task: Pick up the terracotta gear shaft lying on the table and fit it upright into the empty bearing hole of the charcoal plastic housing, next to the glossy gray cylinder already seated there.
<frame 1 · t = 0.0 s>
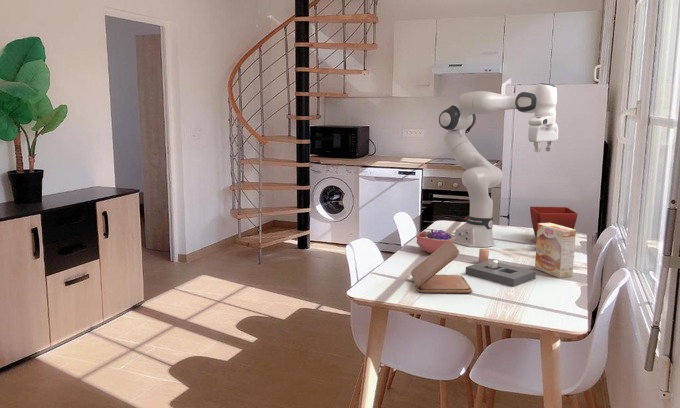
hand: (542, 151, 248), 48 cm above the table, tool pointing down, fingers open, 8 cm apart
terracotta shaft: (483, 263, 243), on the table
case: (440, 286, 211), on the table
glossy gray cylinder: (492, 274, 226), resting in housing
housing: (500, 276, 223), on the table
plant pot: (550, 242, 284), on the table
coffeecake box: (553, 272, 229), on the table
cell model: (434, 252, 261), on the table
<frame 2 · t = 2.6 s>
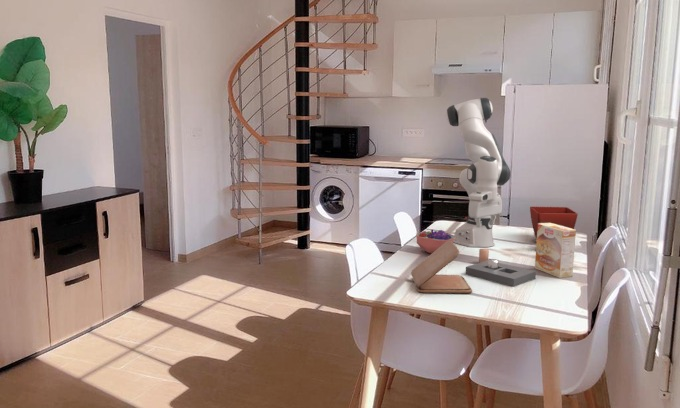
hand: (485, 226, 240), 17 cm above the table, tool pointing down, fingers open, 8 cm apart
nothing on the table moved.
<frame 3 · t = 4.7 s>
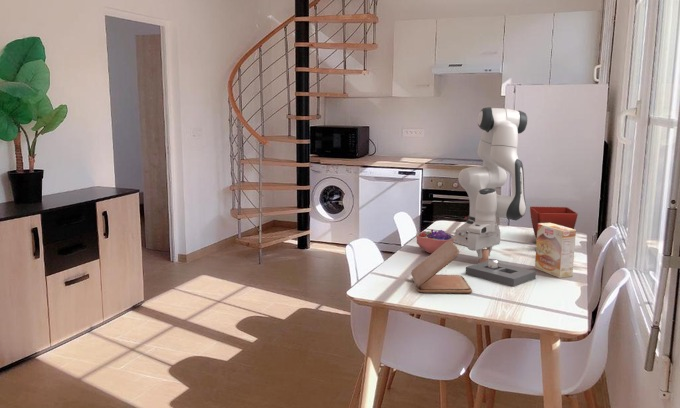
hand: (483, 257, 242), 3 cm above the table, tool pointing down, fingers closed on terracotta shaft, 4 cm apart
terracotta shaft: (483, 263, 243), on the table, touching gripper
everything else where it was.
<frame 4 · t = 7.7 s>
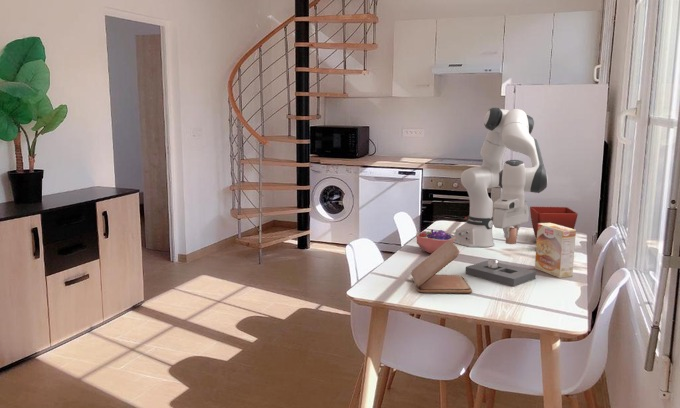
hand: (510, 236, 218), 17 cm above the table, tool pointing down, fingers closed on terracotta shaft, 4 cm apart
terracotta shaft: (510, 243, 219), point 14 cm above the table, touching gripper
everything else where it was.
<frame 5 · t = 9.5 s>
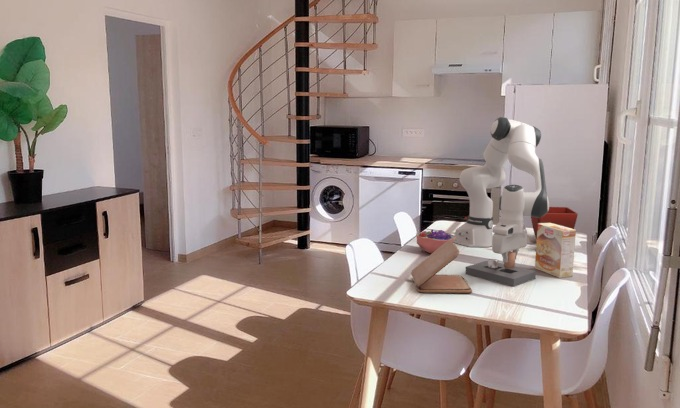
hand: (509, 261, 219), 7 cm above the table, tool pointing down, fingers closed on terracotta shaft, 4 cm apart
terracotta shaft: (509, 267, 220), point 5 cm above the table, touching gripper
everything else where it was.
when the fingers open (4 cm above the table, at t = 10.9 s): terracotta shaft drops 2 cm, resting in housing.
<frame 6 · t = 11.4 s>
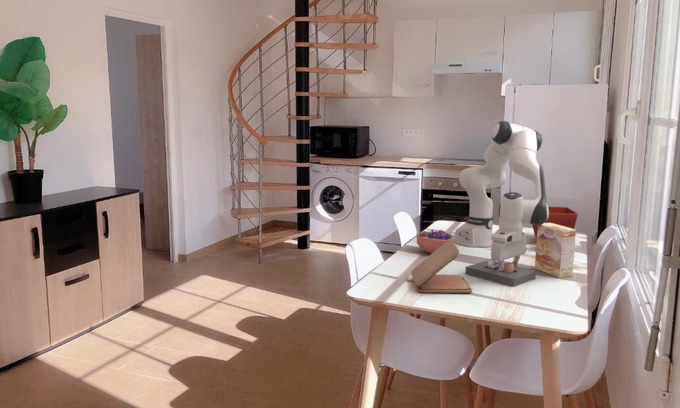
hand: (508, 268, 220), 4 cm above the table, tool pointing down, fingers open, 8 cm apart
terracotta shaft: (507, 278, 221), resting in housing
everything else where it was.
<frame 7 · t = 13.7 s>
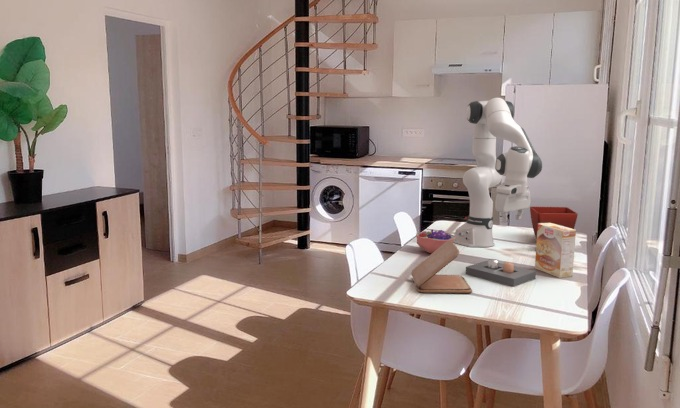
hand: (511, 220, 226), 21 cm above the table, tool pointing down, fingers open, 8 cm apart
nothing on the table moved.
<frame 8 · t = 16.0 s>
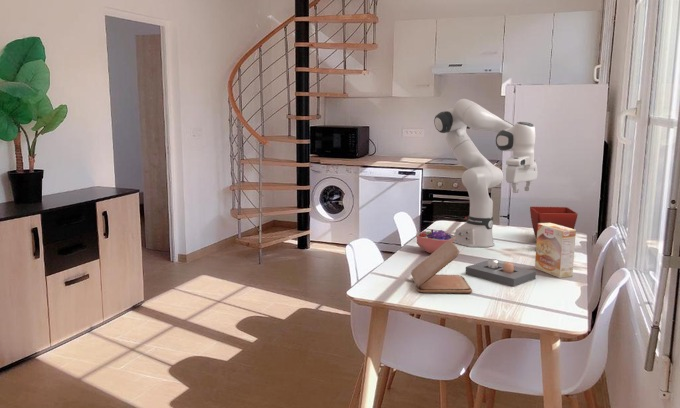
hand: (521, 191, 241), 31 cm above the table, tool pointing down, fingers open, 8 cm apart
nothing on the table moved.
at the end: terracotta shaft 0.1 cm from the target spot on the housing, point 0.0 cm above the housing's base; terracotta shaft tilted 0°; the gripper is holding nothing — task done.
